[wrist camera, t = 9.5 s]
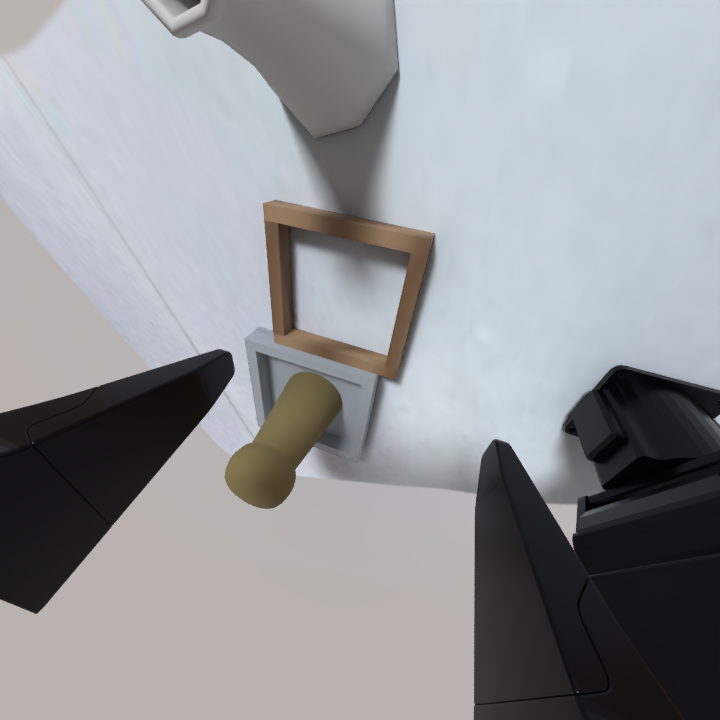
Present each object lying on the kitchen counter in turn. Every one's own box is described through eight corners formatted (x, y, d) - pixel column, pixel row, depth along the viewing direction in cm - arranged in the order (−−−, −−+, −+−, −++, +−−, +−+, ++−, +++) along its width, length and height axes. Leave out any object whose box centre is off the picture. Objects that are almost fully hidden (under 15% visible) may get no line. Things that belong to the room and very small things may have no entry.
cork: (323, 425, 31) (266, 526, 23) (278, 391, 31) (202, 484, 22) (353, 400, 28) (298, 510, 19) (303, 360, 27) (222, 458, 18)
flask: (354, -142, 11) (87, -756, 4) (423, 78, 14) (357, -5, 6) (239, 14, 15) (-13, -125, 7) (313, 163, 18) (187, 175, 10)
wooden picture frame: (434, 233, 18) (431, 239, 17) (398, 369, 25) (394, 379, 23) (275, 200, 20) (263, 203, 19) (283, 334, 27) (274, 342, 25)
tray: (381, 364, 25) (374, 379, 23) (364, 446, 32) (357, 463, 31) (259, 327, 27) (244, 338, 25) (269, 412, 34) (258, 425, 33)
